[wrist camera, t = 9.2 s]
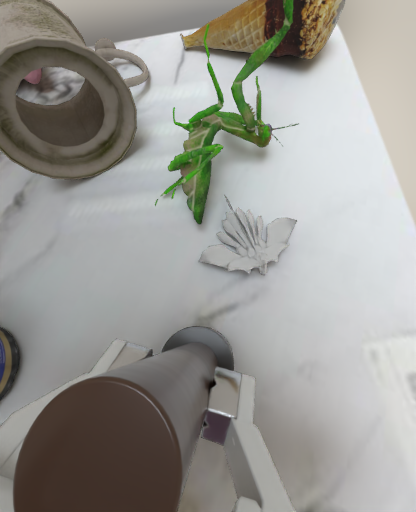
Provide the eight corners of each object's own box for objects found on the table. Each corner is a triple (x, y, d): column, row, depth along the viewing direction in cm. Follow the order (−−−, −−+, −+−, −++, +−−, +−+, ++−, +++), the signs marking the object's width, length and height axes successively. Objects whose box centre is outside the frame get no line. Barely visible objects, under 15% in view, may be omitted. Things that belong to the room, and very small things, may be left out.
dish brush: (165, 334, 18) (-37, 352, 4) (224, 320, 18) (206, 293, 4) (176, 401, 16) (-65, 731, 3) (240, 386, 16) (289, 655, 3)
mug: (-68, 30, 11) (-85, -54, 16) (17, 189, 19) (-9, 104, 24) (197, 48, 18) (133, -15, 22) (178, 162, 26) (134, 99, 30)
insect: (168, 44, 20) (271, 83, 23) (152, 219, 22) (251, 231, 25) (207, -100, 11) (366, -3, 14) (174, 219, 12) (325, 238, 16)
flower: (182, 220, 21) (173, 201, 19) (267, 186, 21) (269, 162, 19) (214, 300, 18) (208, 288, 15) (315, 257, 18) (325, 239, 15)
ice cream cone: (169, 63, 24) (341, 38, 19) (165, -17, 22) (358, -67, 17) (194, 82, 29) (333, 66, 24) (193, 20, 27) (345, -11, 22)
